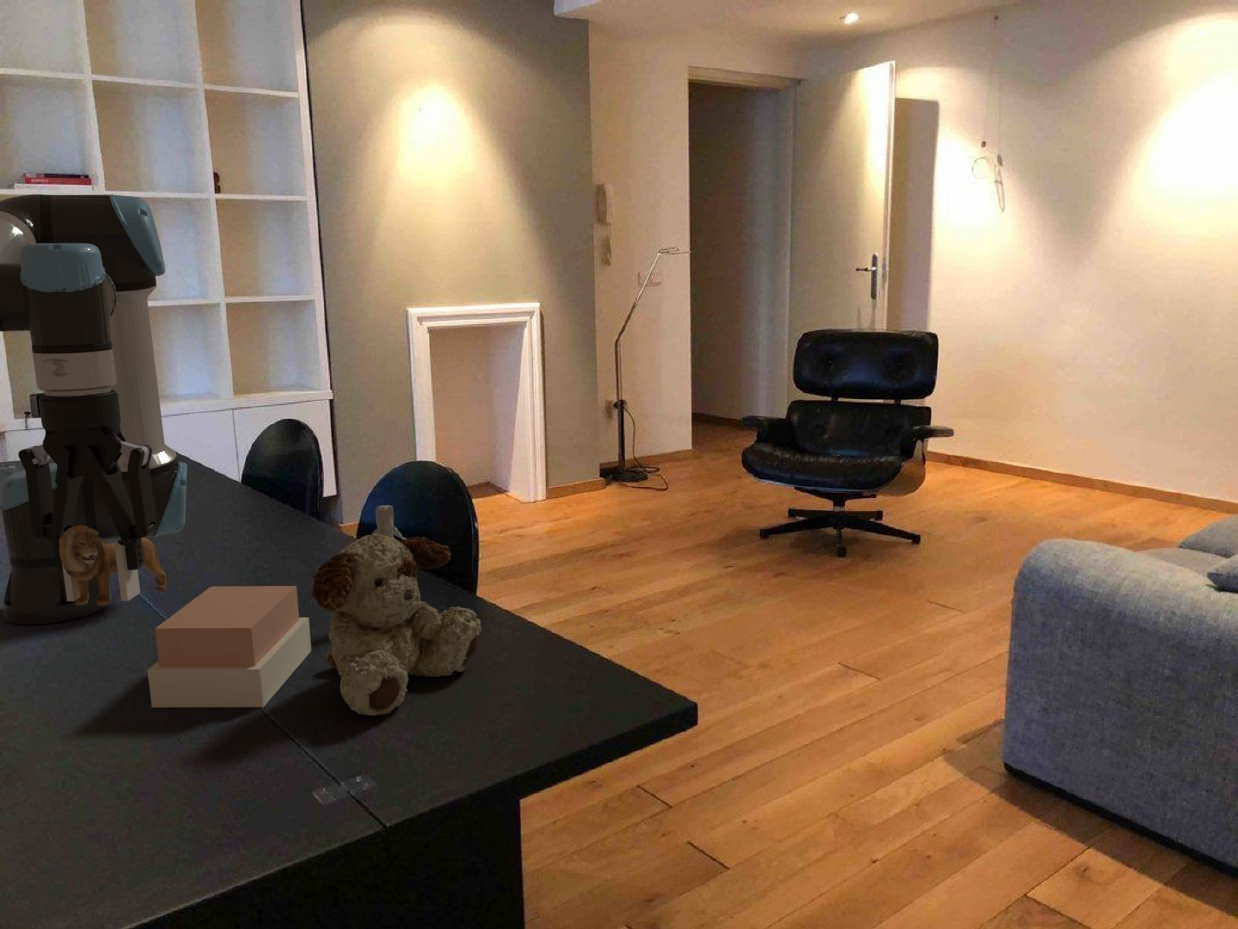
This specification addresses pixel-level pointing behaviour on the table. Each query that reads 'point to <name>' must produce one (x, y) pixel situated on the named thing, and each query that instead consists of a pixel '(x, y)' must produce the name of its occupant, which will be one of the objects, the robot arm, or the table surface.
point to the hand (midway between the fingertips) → (104, 596)
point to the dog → (389, 620)
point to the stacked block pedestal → (229, 648)
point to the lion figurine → (100, 561)
